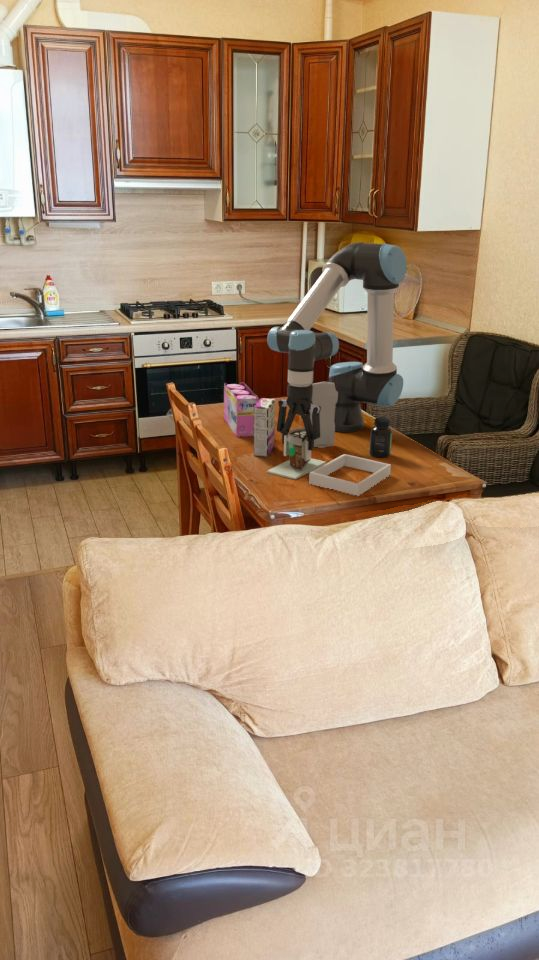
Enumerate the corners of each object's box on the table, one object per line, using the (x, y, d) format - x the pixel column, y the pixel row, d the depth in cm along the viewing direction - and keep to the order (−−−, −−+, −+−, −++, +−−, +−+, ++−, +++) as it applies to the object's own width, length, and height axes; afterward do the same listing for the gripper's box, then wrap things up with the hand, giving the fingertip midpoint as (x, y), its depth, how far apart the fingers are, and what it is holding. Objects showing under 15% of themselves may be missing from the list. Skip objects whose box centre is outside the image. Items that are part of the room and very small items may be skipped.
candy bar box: (259, 445, 258) (260, 397, 253) (274, 446, 258) (276, 398, 252) (252, 456, 248) (253, 406, 242) (267, 457, 247) (269, 407, 242)
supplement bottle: (394, 455, 252) (397, 420, 248) (379, 459, 248) (382, 423, 244) (379, 450, 257) (382, 415, 253) (364, 454, 253) (367, 418, 249)
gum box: (222, 417, 288) (222, 382, 283) (243, 416, 290) (243, 381, 285) (236, 437, 266) (236, 398, 262) (258, 435, 268) (259, 397, 264)
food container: (293, 456, 245) (293, 425, 241) (311, 458, 243) (312, 427, 239) (280, 468, 234) (281, 436, 230) (300, 471, 232) (301, 439, 228)
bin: (343, 464, 243) (344, 453, 241) (390, 475, 235) (390, 464, 233) (309, 483, 226) (309, 472, 225) (357, 496, 218) (358, 484, 217)
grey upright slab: (332, 443, 263) (336, 379, 255) (337, 446, 259) (341, 382, 251) (303, 445, 260) (305, 380, 252) (307, 449, 256) (310, 383, 248)
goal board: (298, 457, 248) (298, 455, 248) (325, 463, 243) (325, 461, 243) (267, 472, 234) (267, 470, 234) (295, 479, 229) (295, 477, 229)
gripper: (335, 386, 227) (331, 460, 235) (279, 376, 237) (277, 447, 245) (322, 391, 221) (318, 467, 230) (265, 381, 231) (263, 454, 240)
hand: (297, 457), depth 238 cm, fingers closed on food container, 7 cm apart
